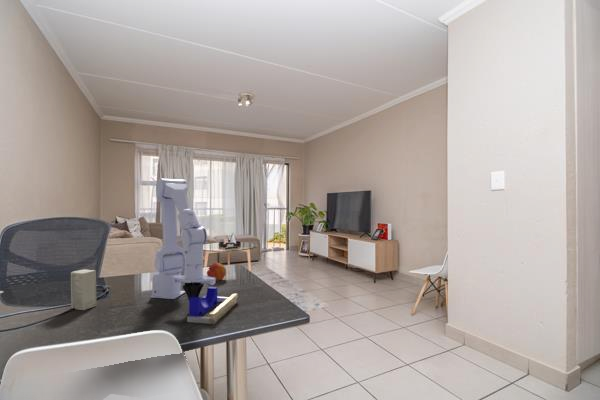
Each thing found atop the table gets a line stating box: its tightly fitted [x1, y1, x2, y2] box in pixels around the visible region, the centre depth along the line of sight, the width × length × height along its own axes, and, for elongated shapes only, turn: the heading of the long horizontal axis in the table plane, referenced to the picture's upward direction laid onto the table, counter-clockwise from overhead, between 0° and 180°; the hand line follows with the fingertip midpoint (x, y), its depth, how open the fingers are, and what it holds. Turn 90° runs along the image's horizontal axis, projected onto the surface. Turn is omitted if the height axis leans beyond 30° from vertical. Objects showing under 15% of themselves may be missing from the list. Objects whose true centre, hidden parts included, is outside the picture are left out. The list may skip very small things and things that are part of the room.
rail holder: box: [186, 293, 239, 325], centre depth 91 cm, size 8×18×3 cm, turn 171°
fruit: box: [206, 262, 227, 282], centre depth 126 cm, size 8×8×8 cm
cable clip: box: [188, 286, 218, 317], centre depth 92 cm, size 12×4×6 cm, turn 168°
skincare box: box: [70, 268, 97, 311], centre depth 93 cm, size 6×4×12 cm
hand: (193, 305), depth 92 cm, fingers closed
